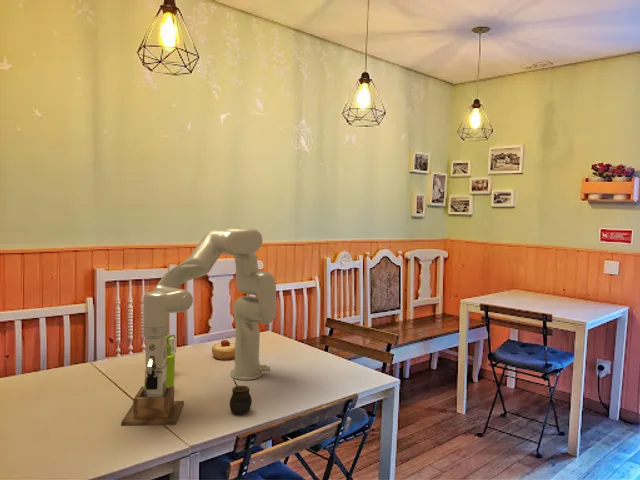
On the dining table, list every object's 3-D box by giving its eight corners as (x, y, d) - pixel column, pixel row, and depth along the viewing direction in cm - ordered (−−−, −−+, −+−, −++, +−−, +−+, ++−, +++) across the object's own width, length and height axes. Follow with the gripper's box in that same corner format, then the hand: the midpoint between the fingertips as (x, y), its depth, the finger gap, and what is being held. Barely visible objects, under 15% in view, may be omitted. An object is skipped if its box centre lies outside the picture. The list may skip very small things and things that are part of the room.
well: (183, 403, 167) (184, 383, 166) (175, 424, 151) (176, 402, 151) (134, 403, 165) (135, 383, 165) (121, 425, 149) (121, 402, 149)
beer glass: (178, 372, 197) (179, 335, 196) (171, 378, 190) (172, 340, 189) (161, 371, 197) (162, 334, 196) (154, 377, 190) (154, 339, 189)
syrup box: (147, 406, 161) (148, 363, 160) (166, 406, 162) (166, 363, 161) (143, 414, 155) (144, 369, 154) (162, 414, 156) (163, 368, 155)
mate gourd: (241, 418, 157) (242, 387, 157) (223, 412, 161) (224, 382, 160) (256, 410, 163) (256, 381, 163) (238, 405, 167) (239, 376, 167)
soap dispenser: (179, 388, 180) (180, 334, 179) (167, 395, 174) (168, 339, 172) (165, 385, 182) (166, 332, 181) (153, 392, 176) (154, 337, 174)
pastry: (206, 359, 216) (206, 339, 215) (221, 352, 227) (221, 333, 226) (230, 363, 212) (229, 342, 211) (244, 355, 223) (244, 335, 222)
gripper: (162, 338, 148) (161, 393, 150) (172, 324, 165) (172, 374, 167) (136, 338, 147) (136, 394, 149) (149, 323, 164) (149, 374, 166)
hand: (155, 383), depth 158 cm, fingers open, 9 cm apart
